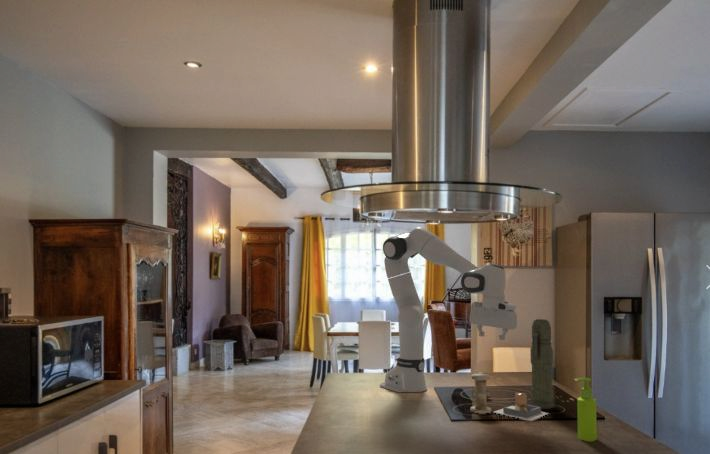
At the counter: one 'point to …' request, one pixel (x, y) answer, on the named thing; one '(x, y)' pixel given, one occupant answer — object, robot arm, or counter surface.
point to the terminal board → (522, 413)
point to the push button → (483, 373)
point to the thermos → (541, 365)
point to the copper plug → (521, 401)
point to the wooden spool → (480, 394)
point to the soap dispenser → (586, 413)
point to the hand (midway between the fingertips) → (491, 337)
